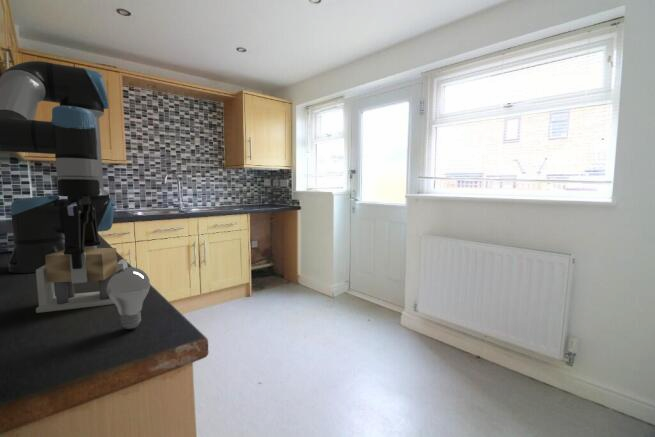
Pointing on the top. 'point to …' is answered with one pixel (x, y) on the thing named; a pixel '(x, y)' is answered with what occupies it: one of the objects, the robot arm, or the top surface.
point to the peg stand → (70, 293)
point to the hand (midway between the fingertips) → (85, 277)
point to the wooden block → (97, 260)
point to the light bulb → (129, 294)
